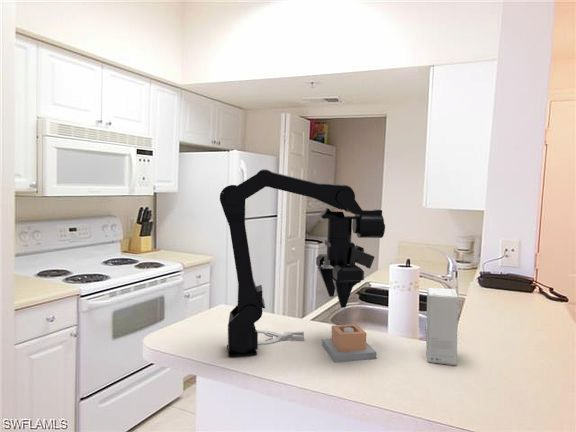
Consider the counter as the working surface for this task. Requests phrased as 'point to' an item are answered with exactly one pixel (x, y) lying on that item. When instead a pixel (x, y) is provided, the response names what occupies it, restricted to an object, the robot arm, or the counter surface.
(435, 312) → the skincare box
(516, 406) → the counter surface
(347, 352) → the grey peg base
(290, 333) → the pliers
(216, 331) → the counter surface
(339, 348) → the collar
